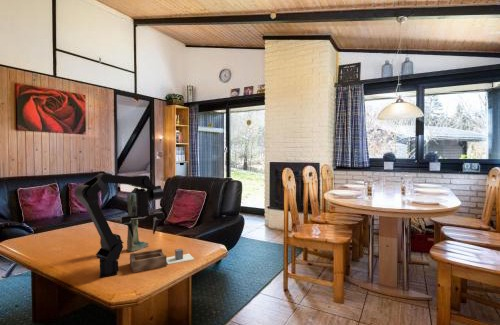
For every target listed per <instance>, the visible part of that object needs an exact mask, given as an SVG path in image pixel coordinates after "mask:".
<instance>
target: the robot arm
mask: <svg viewBox="0 0 500 325" xmlns="http://www.w3.org/2000/svg"><path fill="white" fill-rule="evenodd" d="M107 184H116V185H117V184H119V185H129V186H131V187H134V189H132V190H131V192H130V193H136V206H132V207H131V212H132V213H135V215H136V216H130V214H129V215H128V214H122V215H121V216H120V223H121V224H124V226H127V229H128V228H129V229H130V232H131V235H132V237H133V229H132V223H131V220H138V221H139V220H146V219H153V226H152V235H155V234H156V230H157V228H158V225H159V223H160V222H162V220H164V219H165V212H163V211H161V210H160V211H159V210H158V211H154V212H153V213H150V201H156V200H157V201H158V200H162V199H164V196H165V192H164V189H163V188H162V185H154V183H153V182H152V180H151V178H150V176H149V175H145V174H138V175H137V174H135V175H129V176H128V175H121V174H120V175H119V174H109V173H101V172H100V173H98V174H97V175H95V176H94V177H93V178H91V179H89V180H87V181H86V182H84V183H83V184H80V185H78V186H76V188H75V190H74V192H73V195H74V196H75V199H77V201H78V202H79V203H80V204H81V205H82V206H83V207H84V208H85V209H86V211H87V213H88V215H89V216H90V219H91V221H92V223H93V226H94V227H95V228H96V231H97V233H98V235H99V237H100V238H99V240H100V241H99V244H100V248H99V249H98V251H97V252H96V253H95V257H96V259H98V260H99V278H104V277H110V276H116V275H118V272H119V259H120V256H121V253H122V251H123V248H124V241H123V240H122V238H121V235H120V234H117V233H113V231H112V230H111V226H110V225H109V223H108V221H107V219H106V217H105V214H104V212H103V209H102V208H101V206H100V203H99V202H100V201H99V200H100V197H99V192H101V191H102V190H103V189H104V187H105V186H106V185H107Z"/></svg>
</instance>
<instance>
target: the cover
mask: <svg viewBox="0 0 500 325" xmlns="http://www.w3.org/2000/svg"><path fill="white" fill-rule="evenodd" d="M166 259H167V265H174V264H180V263H185V262H189V261H194V260H195V258H194V257H193V256H192V255H191V254H190V253H186V254H185V253H184V250H183V248H177V249H174V255H173V256H169V257H167V256H166Z"/></svg>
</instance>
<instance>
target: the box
mask: <svg viewBox="0 0 500 325" xmlns="http://www.w3.org/2000/svg"><path fill="white" fill-rule="evenodd" d="M166 258H167V255H165V254H164V252H163V250H162V248H158V249H157V248H156V249H151V250H145V251H138V252H137V251H136V252H130V253H129V264H130V268H132V269H131V272H132V273H133V272H134V273H138V272H143V271H144V272H145V271H149V269H150V270H154V269H159V268H164V267H167V265H168V264H167V259H166Z"/></svg>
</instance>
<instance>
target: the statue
mask: <svg viewBox="0 0 500 325" xmlns="http://www.w3.org/2000/svg"><path fill="white" fill-rule="evenodd" d="M132 206H136V193H131V192H129V194H127V215H129V214H130V216H136V215H135V213H132V212H131V207H132ZM131 223H132V229H133V237H132V235H131V232H130V229H129V228H128V227H127V238H126V239H127V240H126V242H127V243H126V249H125V250H126V252H130V253H134V252H137V251H138V250H143V249H145V248H147V247H149V242H147V241H146V242H145V241H141V240H140V239H139V220H131Z"/></svg>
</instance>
